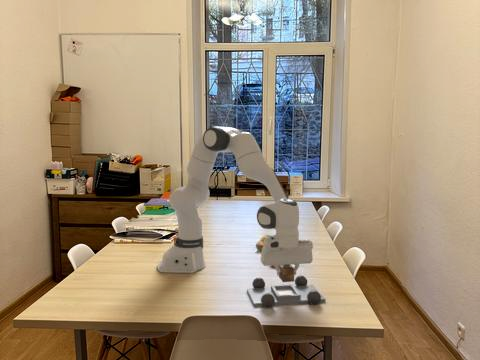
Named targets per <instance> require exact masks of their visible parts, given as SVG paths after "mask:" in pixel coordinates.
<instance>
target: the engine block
mask: <svg viewBox="0 0 480 360" xmlns="http://www.w3.org/2000/svg"><path fill="white" fill-rule="evenodd" d="M278 270H281V271H282V273H281V274H282V275H281V276H278V277H279V279H280V280H281V282H282V283H292V282H293V283H295V275H294V267H293V266H292V264H290V265H279V268H278Z"/></svg>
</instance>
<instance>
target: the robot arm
mask: <svg viewBox="0 0 480 360" xmlns="http://www.w3.org/2000/svg"><path fill="white" fill-rule="evenodd" d="M220 153H232V154H233V156H234V159H235V161H236V164H237V167H238V169H239V171H240V173H241V175H243V176H244V177H245V178H247V179H249V180H252V181H256V182H258V183H261V184H262V185H264V186H265V187H266V188H267V190H268V191H269V194H270V196H271V198H272V199H273V202H272V203H269V204H265V205H262V206H260V207H259V208H258V210H257V212H256V220H257V223H258V225H259V226H260V227H261V228H262V229H266V230H275V234H273V235H270V236H271V237H268V238H265V239H264V244H265V245H264V246H263V248H262V251H260V252H261V253H260V255H261V256H260V263H261V264H262V265H263V266H264V267H267V266H268V267H269V266H271V267H272V265H274V267H273V268H275V270H276V275H277V277H279V276H281V275H282V274H281V273H282V271H281V270H279V265H294V267H293V268H294V276H296V275H297V271H298V269H299V267H300V265H303V264H311V263H312V262H313V251H312V250H313V247H314V245H313V244H314V243H313V242H312V241H311V240H310V239H299V236H300V235H299V234H300V232H299V225H300V211H299V210H300V208H299V205H298V202H297V201H296V200H295V199H292V198H290V197H289V195H288V194H287V192H286V190H285V188H284V186H283V184H282V182H281V180H280V179H279V177H278V175H277V173H276V171H275V170H274V169H273V168H272V167H271V166H270V164H268V163H267V161H266V159H265V158H264V156H263V153H262V151H261V148H260V145H259V144H258V142H257V140H256V139H255V137H254V135H253V133H250V132H248V131H242V130H241V129H239V128H237V127H236V128H235V127H231V126H218V125H215V126H210V127H208V128H206V130H205V131H204V133H203V134H202V135H201V136H199V138H198V139H197V141H196V142H195V145H194V148H193V150H192V152H191V156H190V158H189V162H188V164H187V167H186V173H187V183H186V184H185V185H183V186H179V187H177V188H176V189H174V190H173V191H172V192H171V193H170V194H169V197H168V198H169V200H168V201H169V205H170V206H171V208H172V209H173V210H174V212H175V215H176V217H177V226H178V227H177V228H178V229H177V231H178V236H175V235H174V236H173V239H172V240H173V246H171V247H170V248H168V249H167V250H166V251H165V252H164V253H163V255H162V259H161V261H158V263H157V266H156V267H157V269H156V270H157V271H159V272H160V273H167V274H168V273H173V274H174V273H175V274H177V273H178V274H181V273H182V274H193V273H195V272H198V271H200V270H203V269H204V268H205V267H206V262H205V257H204V250H203V249H204V236H203V221H202V219H201V217H200V215H199V213H198V207H199V206H202V205H203V204H205V203H206V202H207V201H208V200H209V198H210V195H211V194H210V189H209V185H210V179H211V175H212V171H213V169H214V166H215V163H216V161H217V157H218V155H219V154H220Z"/></svg>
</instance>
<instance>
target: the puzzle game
mask: <svg viewBox="0 0 480 360" xmlns="http://www.w3.org/2000/svg"><path fill="white" fill-rule="evenodd" d="M271 236H272V235H269V234H264V235H263V236H262V237H261V238H260V239H259V240H258V242H257V243H256V244H255V248H256V250H257V251H259V252H262V248H263V246H264V245H265V244H264V239H265V238H268V237H271Z"/></svg>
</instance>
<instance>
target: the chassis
mask: <svg viewBox="0 0 480 360" xmlns="http://www.w3.org/2000/svg"><path fill="white" fill-rule="evenodd" d="M251 284H252V288H247V289H246V292H247V295H248V296H249V299H250V301H251V303H252V305H253V307H254V308H255V307H264V308H272V307H273V306H283V305H286V306H287V305H298V304H301V305H302V304H311V305H313V306H314V305H317V304H319V303H326V298H325V297H324V296H323V294H322V293H321V292H320V291H319V290H318V288H316V287H315V285H314V284H309V285H308V279H307V278H306V276H304V275H298V276H297V277H295V278H294V284H295V285H294V284H292V283H290V284H274V285H270V287H265V286H266V282H265V280H264V278H262V277H256V278H254V279H253V281H252V283H251Z"/></svg>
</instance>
